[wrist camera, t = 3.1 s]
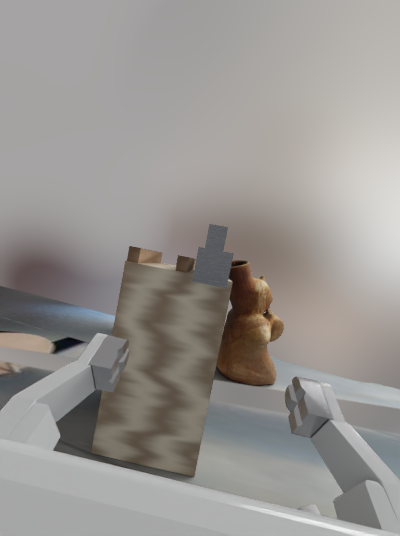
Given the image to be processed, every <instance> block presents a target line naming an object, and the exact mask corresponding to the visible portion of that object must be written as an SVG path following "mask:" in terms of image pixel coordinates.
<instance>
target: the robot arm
mask: <svg viewBox="0 0 400 536" xmlns="http://www.w3.org/2000/svg"><path fill="white" fill-rule="evenodd" d="M128 346H129V340H126V339H122V338H118V337H114V336H110V335H106V334H101V333H98V334H96V335H95V336H94V338H93V339H92V340H91V342H90V343H89V345H88V346H87V347H86V349H85V350H84V352H83V353H82V354H81V356H80V357H79V359H78V360H77V361H76V362H74V361H73V362H71V363H69V364H68V365H66V366H64V367H62V368H61V369H59V370H57V371H55V372H54V373H52V374H50V375H48V376H47V377H45V378H43V379H41V380H40V381H38V382H36V383H35V384H33V385H31V386H29V387H28V388H26V389H24V390H22V391H21V392H19V393H17V394H15V395H14V396H13V397H12V398H11V399H10V400H9V401H8V403H7V404H6V405H5V406H4V407H3V408H2V409H1V411H0V536H400V480H399V479H398V478H397V477H396V476H395V475H394V473H393V472H392V471H391V470H390V469H389V468H388V467H387V466H386V464H385V463H384V462H383V461H382V460H381V459H380V458H379V457H378V456H377V454H376V453H375V452H374V451H373V450H372V449H371V448H370V447H369V445H368V444H367V443H366V442H365V441H364V440H363V439H362V438H361V436H360V435H359V434H358V433H357V432H356V431H355V430H354V429H353V427H352V426H351V425H350V424H348V423H346V422H345V420H344V417H343V415H342V412H341V410H340V407H339V405H338V402H337V400H336V397H335V395H334V392H333V390H332V387H331V386H330V385H329V384H328V383H323V382H318V381H315V380H311V379H306V378H301V377H294V378H293V380H292V383H293V384H292V385H289V386H288V387H287V389H286V393H285V402H286V407H287V408H288V410H289V411H290V412H291V413H290V415H289V417H288V418H289V423H290V428H291V433H292V434H296V435H300V436H304V437H308V438H311V439H310V440H311V441H312V443H313V445H314V446H315V448H316V449H317V451H318V453H319V454H320V456H321V457H322V459H323V461H324V462H325V464H326V465H327V467H328V469H329V470H330V472H331V473H332V475H333V477H334V478H335V480H336V481H337V483H338V485H339V486H340V488H341V489H342V491H343V494H342V495H340V496H338V497H337V498H335V500H334V501H333V503H334V506H335V510H336V514H337V518H338V519H334V518H330V517H326V516H322V515H318V514H314V513H310V512H305V511H301V510H297V509H293V508H289V507H285V506H281V505H276V504H272V503H268V502H264V501H260V500H256V499H252V498H247V497H243V496H239V495H235V494H231V493H227V492H223V491H218V490H214V489H210V488H206V487H202V486H198V485H194V484H189V483H185V482H181V481H177V480H173V479H169V478H165V477H160V476H156V475H152V474H148V473H144V472H140V471H136V470H131V469H127V468H123V467H119V466H115V465H111V464H107V463H102V462H98V461H94V460H90V459H86V458H82V457H78V456H73V455H69V454H65V453H61V452H57V451H53V449H54V447H55V445H56V444H57V442H58V440H59V438H60V432H59V430H58V427H57V425H56V422H57V421H58V420H60V419H61V418H62V417H63V416H64V415H66V414H67V413H68V412H69V411H70V410H72V409H73V408H74V407H75V406H77V405H78V404H79V403H80V402H81V401H83V400H84V399H85V398H86V397H87V396H89V395H90V394H91V393H92V392H93V391H95V389H99V390H104V391H109V392H114V390H115V388H116V386H117V383H118V381H119V379H120V372H122V371H123V370H124V369H125V367H126V365H127V361H128V358H129V350H128Z"/></svg>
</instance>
